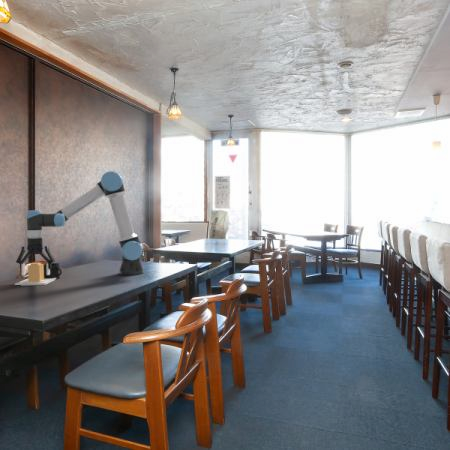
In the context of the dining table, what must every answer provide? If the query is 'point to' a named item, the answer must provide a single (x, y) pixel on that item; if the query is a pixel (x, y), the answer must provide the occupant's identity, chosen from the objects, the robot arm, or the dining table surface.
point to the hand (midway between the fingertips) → (36, 275)
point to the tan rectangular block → (35, 272)
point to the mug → (53, 271)
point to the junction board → (43, 282)
